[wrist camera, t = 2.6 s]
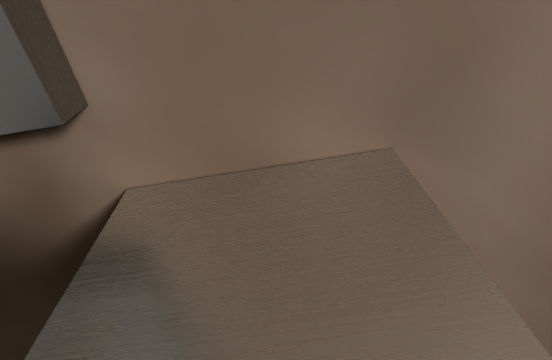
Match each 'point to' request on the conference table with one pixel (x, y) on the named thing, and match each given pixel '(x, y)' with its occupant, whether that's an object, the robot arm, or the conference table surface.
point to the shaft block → (33, 71)
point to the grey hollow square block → (285, 274)
